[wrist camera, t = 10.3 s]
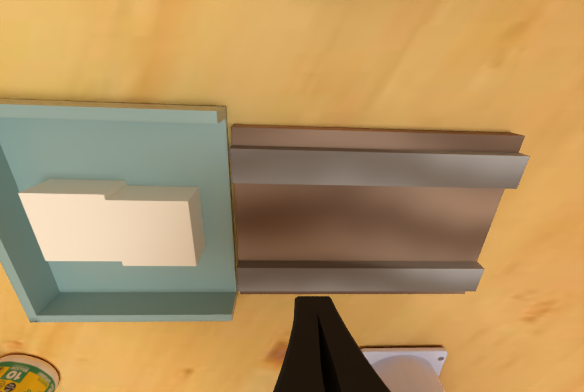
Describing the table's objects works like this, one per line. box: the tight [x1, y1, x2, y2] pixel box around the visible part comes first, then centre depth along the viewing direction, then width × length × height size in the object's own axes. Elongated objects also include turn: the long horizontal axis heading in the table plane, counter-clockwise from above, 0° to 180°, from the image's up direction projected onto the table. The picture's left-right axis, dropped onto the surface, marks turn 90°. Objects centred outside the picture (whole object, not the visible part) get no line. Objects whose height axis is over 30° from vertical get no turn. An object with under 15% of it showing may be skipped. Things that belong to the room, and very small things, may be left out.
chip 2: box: [105, 185, 206, 266], centre depth 17 cm, size 4×4×2 cm
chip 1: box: [18, 179, 127, 261], centre depth 16 cm, size 4×4×2 cm
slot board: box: [230, 124, 530, 294], centre depth 18 cm, size 12×17×2 cm
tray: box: [0, 99, 237, 322], centre depth 17 cm, size 14×13×2 cm
